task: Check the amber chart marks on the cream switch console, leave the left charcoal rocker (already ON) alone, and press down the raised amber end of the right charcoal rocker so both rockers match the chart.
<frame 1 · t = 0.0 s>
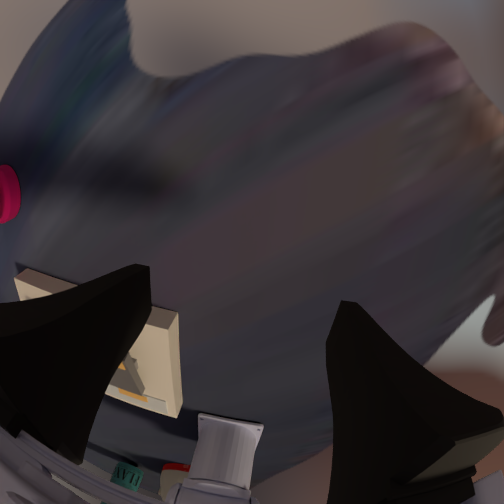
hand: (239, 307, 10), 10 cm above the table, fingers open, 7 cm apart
switch console: (98, 340, 27), on the table
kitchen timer: (196, 475, 41), on the table
beverage bottle: (133, 462, 44), on the table
rocker 2: (117, 370, 22), point 4 cm above the table, hinge at -12.0°
pepper mill: (8, 191, 21), on the table
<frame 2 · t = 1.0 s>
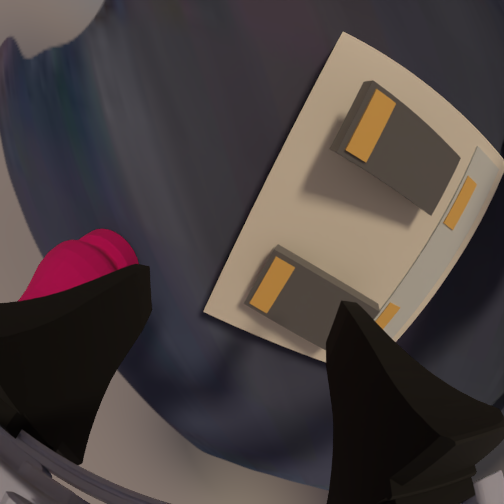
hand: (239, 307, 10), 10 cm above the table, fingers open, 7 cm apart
switch console: (362, 222, 18), on the table
rocker 1: (311, 305, 16), point 4 cm above the table, hinge at 12.0°
rocker 2: (404, 152, 12), point 4 cm above the table, hinge at -12.0°
pepper mill: (111, 261, 22), on the table
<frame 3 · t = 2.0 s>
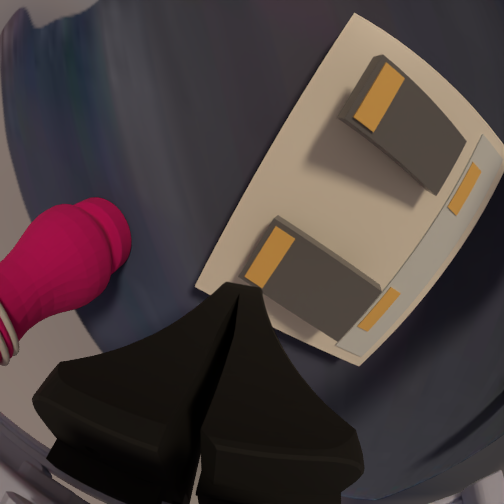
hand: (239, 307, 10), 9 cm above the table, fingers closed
switch console: (364, 203, 17), on the table
rocker 1: (310, 281, 15), point 4 cm above the table, hinge at 12.0°
rocker 2: (411, 128, 11), point 4 cm above the table, hinge at -12.0°
pepper mill: (102, 233, 20), on the table
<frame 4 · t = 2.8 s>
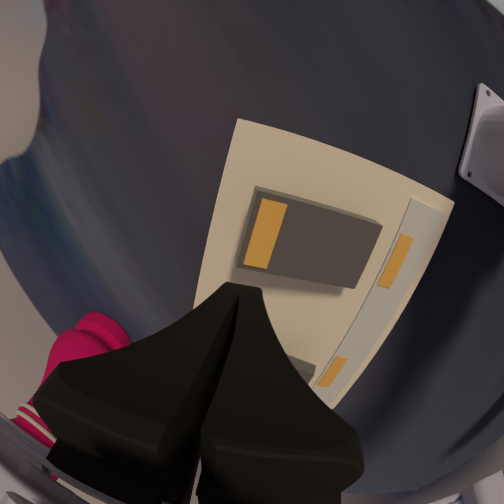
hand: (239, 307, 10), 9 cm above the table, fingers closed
switch console: (301, 289, 20), on the table
rocker 1: (257, 370, 18), point 4 cm above the table, hinge at 12.0°
rocker 2: (311, 242, 14), point 4 cm above the table, hinge at -12.0°
pepper mill: (107, 335, 25), on the table
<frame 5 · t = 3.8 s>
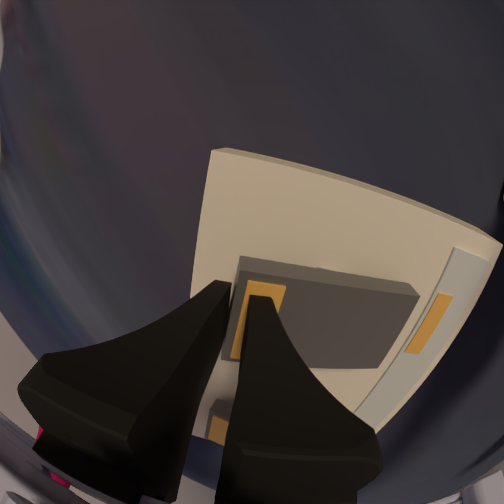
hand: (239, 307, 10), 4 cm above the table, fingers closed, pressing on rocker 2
switch console: (312, 349, 16), on the table
rocker 1: (261, 441, 14), point 4 cm above the table, hinge at 12.0°
rocker 2: (322, 324, 10), point 4 cm above the table, hinge at -10.1°, touching gripper
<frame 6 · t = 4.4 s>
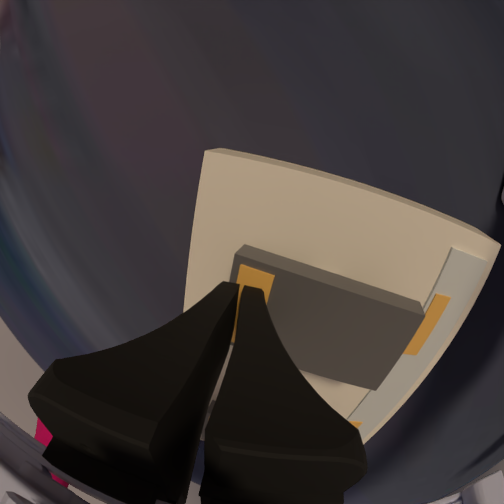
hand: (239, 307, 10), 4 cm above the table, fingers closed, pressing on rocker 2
switch console: (308, 351, 16), on the table
rocker 1: (258, 442, 14), point 4 cm above the table, hinge at 12.0°
rocker 2: (317, 326, 10), point 4 cm above the table, hinge at 10.8°, touching gripper
pepper mill: (99, 384, 21), on the table
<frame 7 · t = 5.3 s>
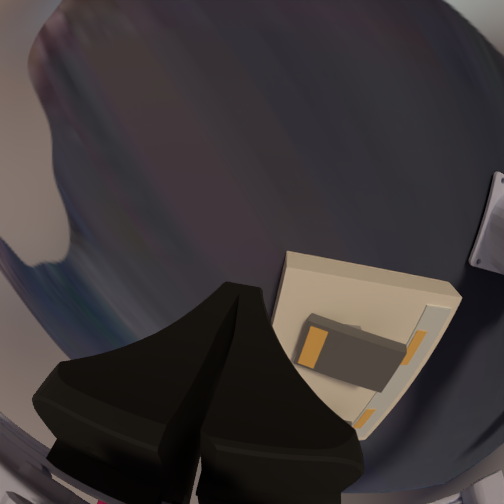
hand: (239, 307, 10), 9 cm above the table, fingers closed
switch console: (338, 365, 23), on the table
rocker 1: (307, 428, 21), point 4 cm above the table, hinge at 12.0°
rocker 2: (348, 356, 17), point 4 cm above the table, hinge at 18.8°, touching switch console
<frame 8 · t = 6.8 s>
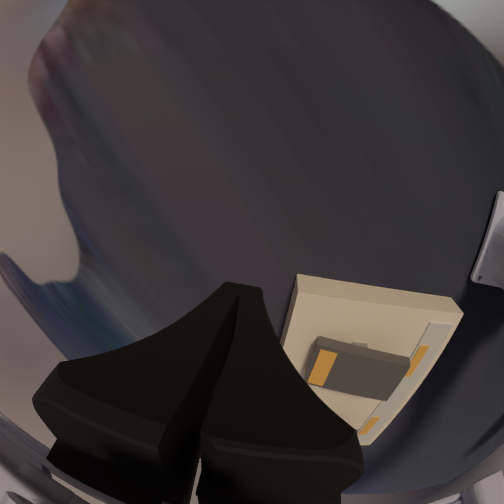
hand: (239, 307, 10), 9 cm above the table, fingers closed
switch console: (344, 376, 23), on the table
rocker 1: (316, 437, 22), point 4 cm above the table, hinge at 12.0°
rocker 2: (356, 372, 18), point 4 cm above the table, hinge at 12.7°
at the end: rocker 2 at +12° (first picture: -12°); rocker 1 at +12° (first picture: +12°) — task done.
